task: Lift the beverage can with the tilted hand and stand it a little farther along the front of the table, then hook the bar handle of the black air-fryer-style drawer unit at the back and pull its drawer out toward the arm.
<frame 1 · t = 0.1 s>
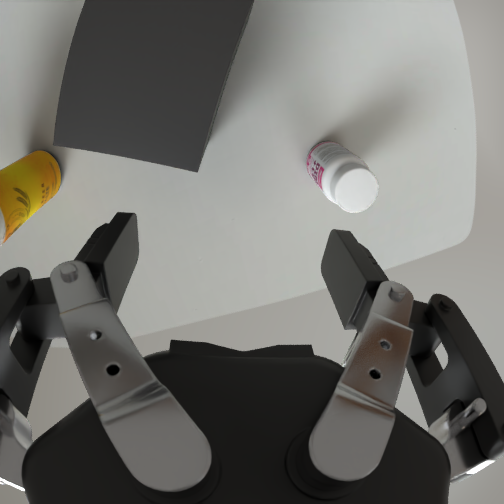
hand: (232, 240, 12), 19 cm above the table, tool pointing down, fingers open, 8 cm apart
beer can: (45, 172, 27), on the table
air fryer: (168, 68, 23), on the table
pill bottle: (326, 161, 29), on the table
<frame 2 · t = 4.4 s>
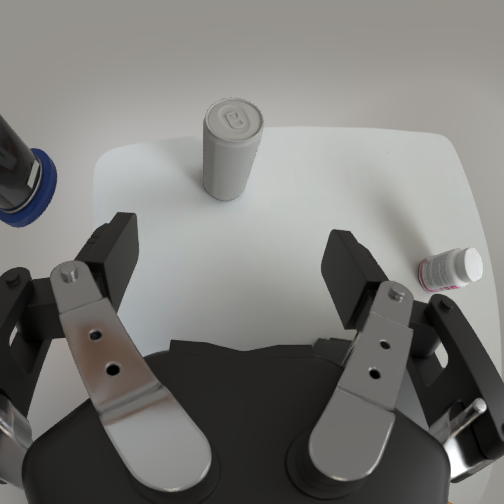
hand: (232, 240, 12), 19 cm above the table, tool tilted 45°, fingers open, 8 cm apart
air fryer: (359, 399, 29), on the table
beverage can: (224, 183, 33), on the table
pill bottle: (428, 275, 34), on the table
drawer: (345, 401, 24), point 5 cm above the table, slide at 0.5 cm
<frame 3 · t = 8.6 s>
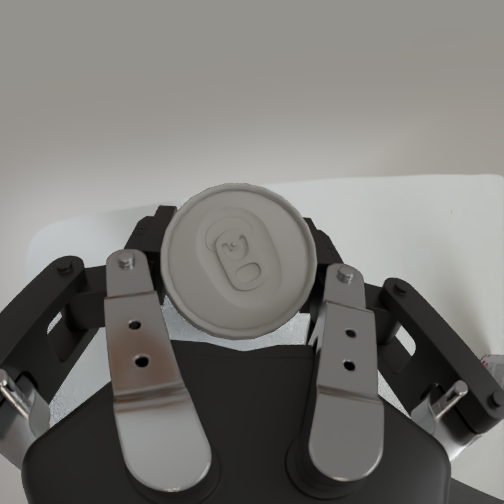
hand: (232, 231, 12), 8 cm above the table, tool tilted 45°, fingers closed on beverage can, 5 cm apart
beverage can: (221, 291, 20), on the table, touching gripper
pill bottle: (483, 375, 22), on the table
when the fingers open (8 cm above the table, at t = 15.8 s): beverage can stays where it is, on the table.
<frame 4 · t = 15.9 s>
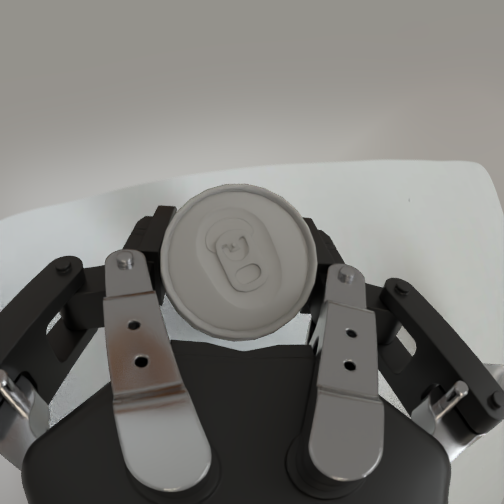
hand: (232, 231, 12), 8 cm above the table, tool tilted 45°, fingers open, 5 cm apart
beverage can: (221, 292, 20), on the table
pill bottle: (449, 384, 21), on the table
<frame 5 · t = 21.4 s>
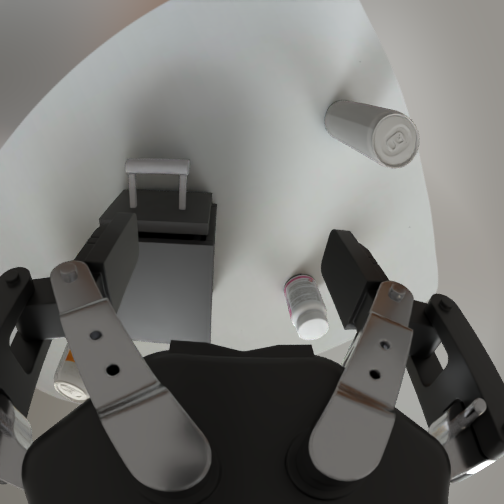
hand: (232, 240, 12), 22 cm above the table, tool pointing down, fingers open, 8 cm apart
beer can: (99, 316, 42), on the table
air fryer: (169, 250, 37), on the table
beverage can: (342, 120, 30), on the table
pill bottle: (299, 286, 42), on the table
drawer: (160, 236, 30), point 5 cm above the table, slide at 0.5 cm
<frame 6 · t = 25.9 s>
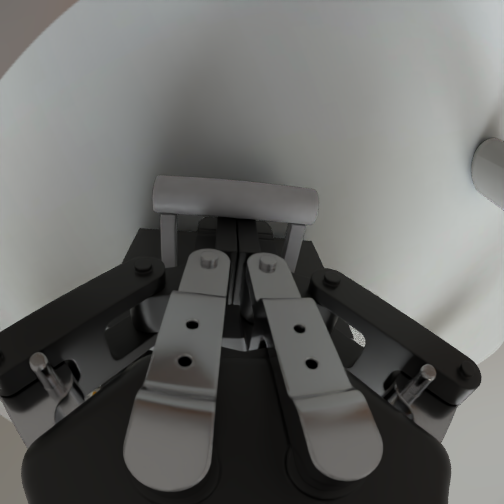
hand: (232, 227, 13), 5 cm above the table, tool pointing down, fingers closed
beverage can: (485, 164, 16), on the table
drawer: (221, 328, 16), point 5 cm above the table, slide at 2.7 cm, touching gripper
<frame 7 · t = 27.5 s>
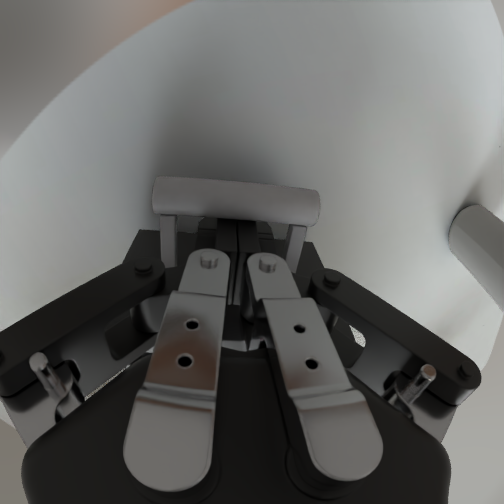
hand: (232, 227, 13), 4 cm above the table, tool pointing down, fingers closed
beverage can: (464, 226, 19), on the table
drawer: (221, 330, 16), point 5 cm above the table, slide at 8.3 cm, touching gripper
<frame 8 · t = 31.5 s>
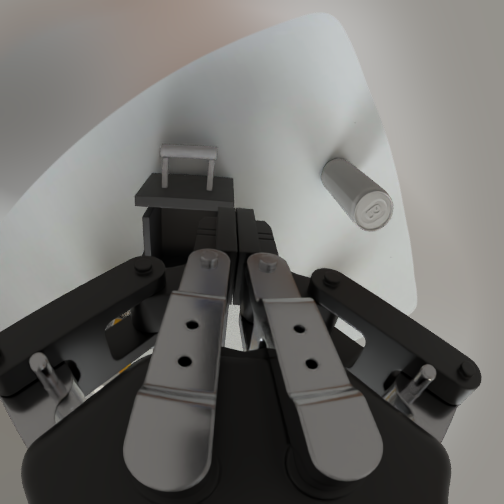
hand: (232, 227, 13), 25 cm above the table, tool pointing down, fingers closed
beverage can: (336, 173, 38), on the table
drawer: (186, 215, 34), point 5 cm above the table, slide at 8.5 cm
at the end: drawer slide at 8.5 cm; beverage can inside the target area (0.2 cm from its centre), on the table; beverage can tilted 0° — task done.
